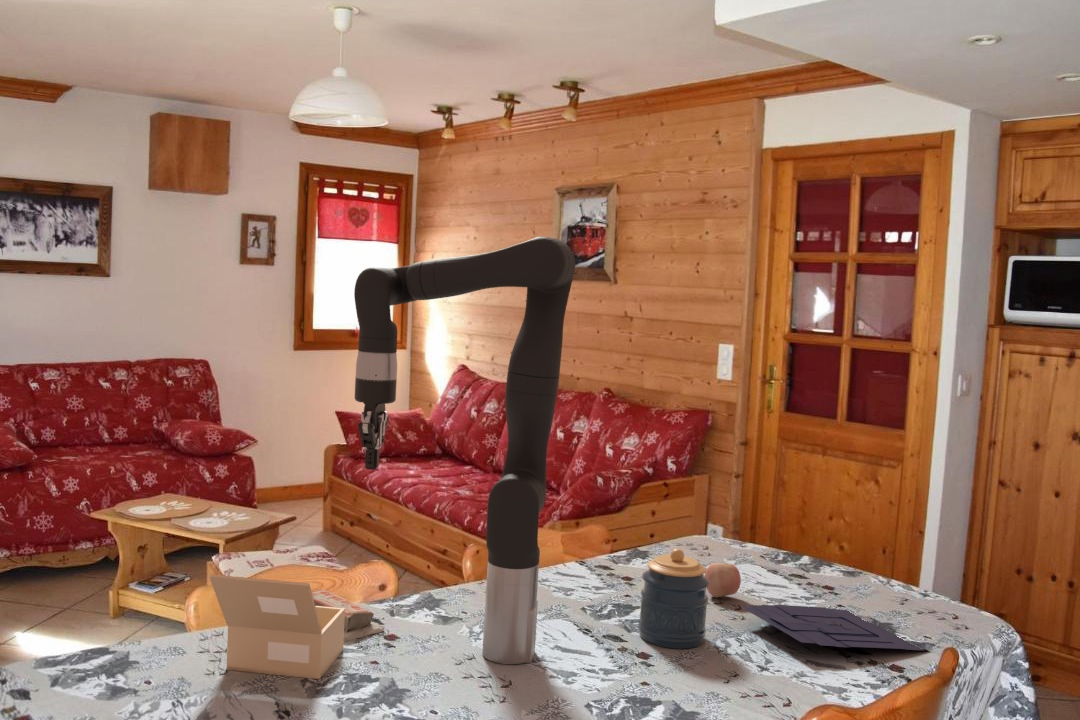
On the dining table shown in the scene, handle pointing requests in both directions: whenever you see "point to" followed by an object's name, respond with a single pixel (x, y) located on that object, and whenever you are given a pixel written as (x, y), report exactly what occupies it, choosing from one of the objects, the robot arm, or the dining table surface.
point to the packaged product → (349, 615)
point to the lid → (266, 604)
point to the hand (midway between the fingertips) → (371, 468)
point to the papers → (828, 627)
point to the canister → (674, 601)
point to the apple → (722, 579)
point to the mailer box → (288, 647)
